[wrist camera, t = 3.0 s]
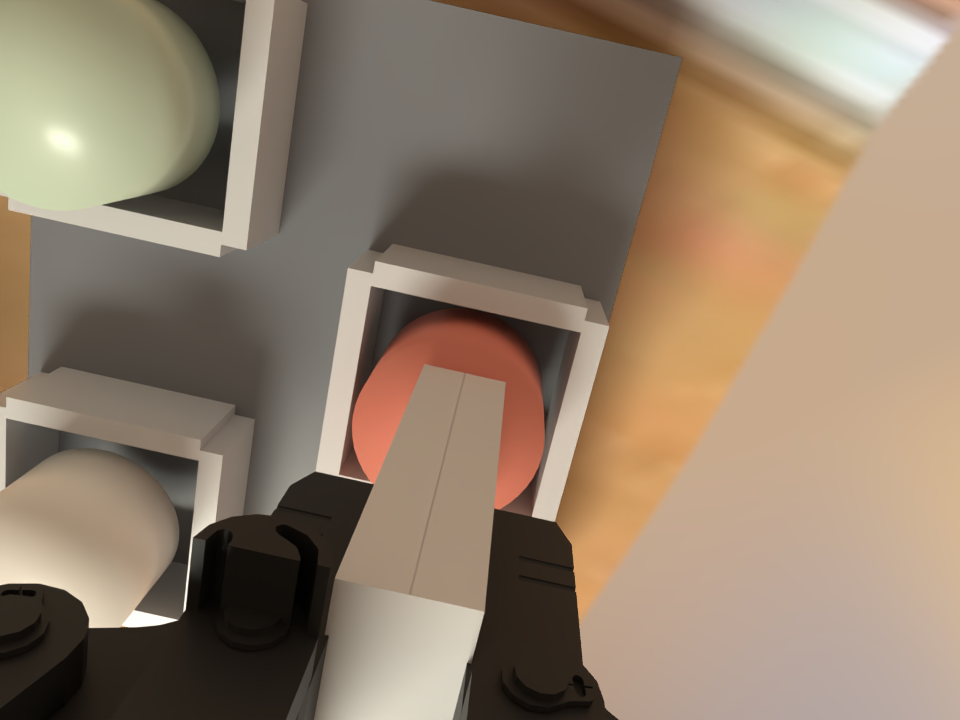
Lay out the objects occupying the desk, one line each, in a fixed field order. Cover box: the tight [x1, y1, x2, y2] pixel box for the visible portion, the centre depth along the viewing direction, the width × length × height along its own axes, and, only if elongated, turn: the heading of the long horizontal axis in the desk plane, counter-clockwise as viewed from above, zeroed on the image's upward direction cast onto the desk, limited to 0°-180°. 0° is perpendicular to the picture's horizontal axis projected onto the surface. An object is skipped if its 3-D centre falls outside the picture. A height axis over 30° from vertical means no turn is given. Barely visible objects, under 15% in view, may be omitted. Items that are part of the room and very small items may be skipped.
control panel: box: [0, 0, 682, 627], centre depth 18 cm, size 13×15×5 cm
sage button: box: [0, 0, 220, 211], centre depth 13 cm, size 4×4×2 cm
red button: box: [352, 308, 545, 509], centre depth 15 cm, size 4×4×2 cm
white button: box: [0, 448, 179, 628], centre depth 16 cm, size 4×4×2 cm
